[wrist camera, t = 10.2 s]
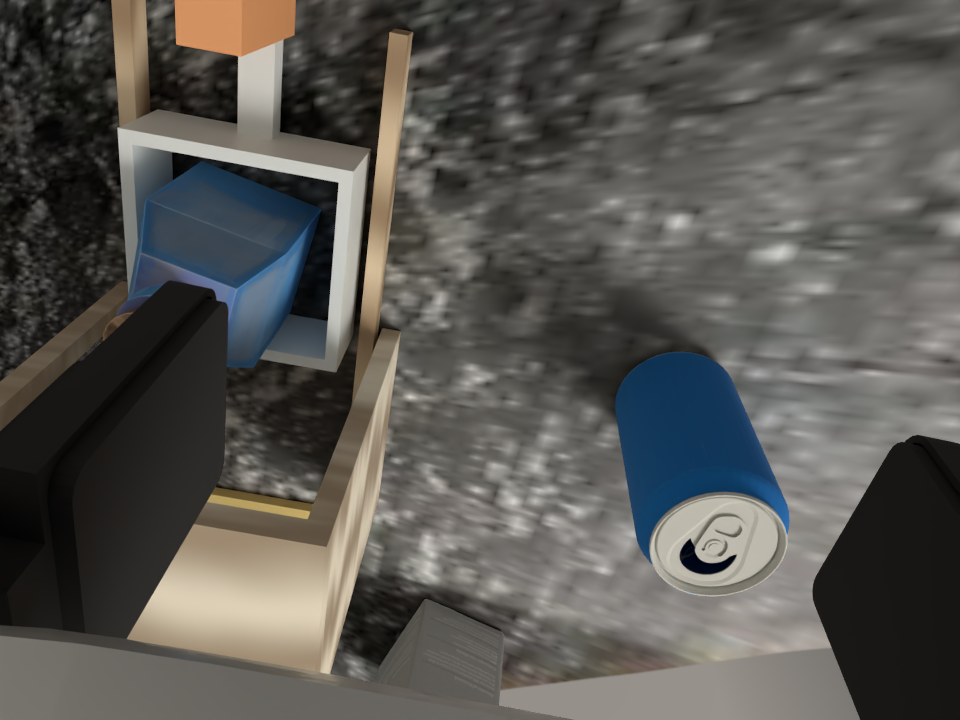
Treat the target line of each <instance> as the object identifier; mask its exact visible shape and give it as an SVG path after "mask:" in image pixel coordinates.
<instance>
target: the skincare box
mask: <svg viewBox="0 0 960 720" xmlns="http://www.w3.org/2000/svg"><path fill="white" fill-rule="evenodd" d="M503 649H504V635H503V633H502V632H501V631H498V630H496V629H494V628H492V627H489V626H487V625H485V624H482V623H480V622H478V621H476V620H473V619H471V618H469V617H467V616H465V615H462V614H460V613H458V612H456V611H454V610H452V609H450V608H447V607H445V606H443V605H440V604H438V603H436V602H433V601H431V600H428V599H425V600H424V601H423V602H422V604H421V605H420V607H419V608H418V610H417V611H416V612H415V614H414V615H413V617H412V618H411V620H410V621H409V623H408V624H407V626H406V627H405V629H404V630H403V632H402V633H401V635H400V636H399V638H398V639H397V641H396V642H395V644H394V645H393V647H392V648H391V650H390V651H389V653H388V654H387V656H386V657H385V659H384V660H383V662H382V663H381V665H380V666H379V668H378V671H377V675H376V679H375V683H380V684H385V685H390V686H396V687H401V688H407V689H412V690H417V691H423V692H428V693H434V694H439V695H444V696H450V697H455V698H461V699H466V700H471V701H477V702H482V703H488V704H493V705H498V706H499V697H500V685H501V673H502V660H503Z"/></svg>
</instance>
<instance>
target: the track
mask: <svg viewBox="0 0 960 720" xmlns="http://www.w3.org/2000/svg"><path fill="white" fill-rule="evenodd" d="M111 2H112V18H113V33H114V48H115V63H116V79H117V94H118V109H119V125H120V126H122V125H125V124H127V123H129V122H131V121H133V120H136V119H138V118H140V117H142V116H144V115H147V114H149V113H151V110H150V88H149V65H148V43H147V21H146V0H111ZM412 36H413V32H411V31H406V30H400V29H394V30H392V31H391V32H390V33H389V43H388V53H387V62H386V72H385V82H384V92H383V102H382V112H381V122H380V131H379V141H378V151H377V161H376V171H375V181H374V191H373V200H372V210H371V220H370V230H369V240H368V250H367V260H366V269H365V279H364V289H363V299H362V309H361V319H360V328H359V338H358V348H357V358H356V368H355V378H354V388H353V397H352V404H353V402H354V399H355V397H356V394H357V392H358V389H359V387H360V384H361V381H362V379H363V376H364V374H365V371H366V369H367V366H368V364H369V361H370V358H371V356H372V353H373V351H374V348H375V346H376V343H377V339H378V330H379V321H380V313H381V304H382V295H383V287H384V278H385V269H386V261H387V252H388V243H389V235H390V226H391V218H392V209H393V200H394V192H395V183H396V174H397V166H398V157H399V148H400V140H401V131H402V122H403V114H404V105H405V96H406V88H407V79H408V71H409V62H410V53H411V45H412Z"/></svg>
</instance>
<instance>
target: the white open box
mask: <svg viewBox="0 0 960 720" xmlns="http://www.w3.org/2000/svg"><path fill="white" fill-rule="evenodd" d="M295 9H296V0H175V19H176V45H182V46H187V47H192V48H198V49H203V50H208V51H214V52H219V53H224V54H230V55H235V56H238V124H235V123H229V122H224V121H218V120H213V119H208V118H202V117H197V116H192V115H186V114H181V113H175V112H170V111H165V110H159V109H158V110H155V111H153V112H151V113H149V114H147V115H144V116H142V117H140V118H138V119H136V120H133V121H131V122H129V123H127V124H125V125H122V126H120V127H118V128H117V129H118V144H119V159H120V174H121V189H122V204H123V219H124V234H125V249H126V264H127V279H128V294H129V288H130V283H131V277H132V272H133V266H134V261H135V255H136V250H137V244H138V239H139V233H140V227H141V222H142V216H143V211H144V205H145V200H146V198H148V197H149V196H151V195H152V194H154V193H155V192H157V191H158V190H160V189H161V188H163V187H164V186H166V185H167V184H169V183H170V182H172V181H173V168H172V152H176V153H181V154H187V155H192V156H198V157H203V158H209V159H214V160H219V161H225V162H230V163H236V164H241V165H246V166H252V167H257V168H263V169H268V170H273V171H279V172H284V173H290V174H295V175H300V176H306V177H311V178H317V179H322V180H328V181H333V182H338V183H339V185H338V198H337V211H336V224H335V237H334V249H333V262H332V275H331V288H330V301H329V314H328V321H324V320H319V319H313V318H307V317H302V316H296V315H291V314H288V316H287V318H286V319H285V321H284V322H283V324H282V325H281V327H280V328H279V330H278V331H277V333H276V334H275V336H274V338H273V339H272V341H271V342H270V344H269V345H268V347H267V348H266V350H265V351H264V353H263V354H262V356H261V357H260V359H263V360H269V361H274V362H280V363H286V364H291V365H297V366H302V367H308V368H314V369H319V370H325V371H330V372H337V369H338V367H339V365H340V363H341V361H342V358H343V356H344V354H345V352H346V350H347V348H348V345H349V343H350V341H351V339H352V337H353V330H354V320H355V310H356V299H357V289H358V279H359V268H360V258H361V248H362V238H363V227H364V217H365V207H366V196H367V186H368V176H369V166H370V155H371V149H369V148H363V147H358V146H353V145H347V144H342V143H337V142H331V141H326V140H320V139H315V138H310V137H304V136H299V135H294V134H288V133H283V132H280V116H281V89H282V62H283V40H284V39H286V38H289V37H291V36H293V35H294V32H295Z"/></svg>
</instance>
